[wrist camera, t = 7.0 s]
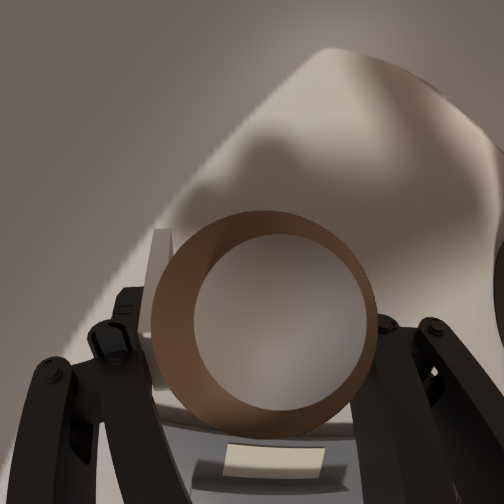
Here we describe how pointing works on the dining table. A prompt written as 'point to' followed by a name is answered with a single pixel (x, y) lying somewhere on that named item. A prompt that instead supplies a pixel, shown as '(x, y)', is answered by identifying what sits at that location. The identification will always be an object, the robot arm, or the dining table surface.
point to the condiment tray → (265, 467)
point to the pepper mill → (264, 325)
